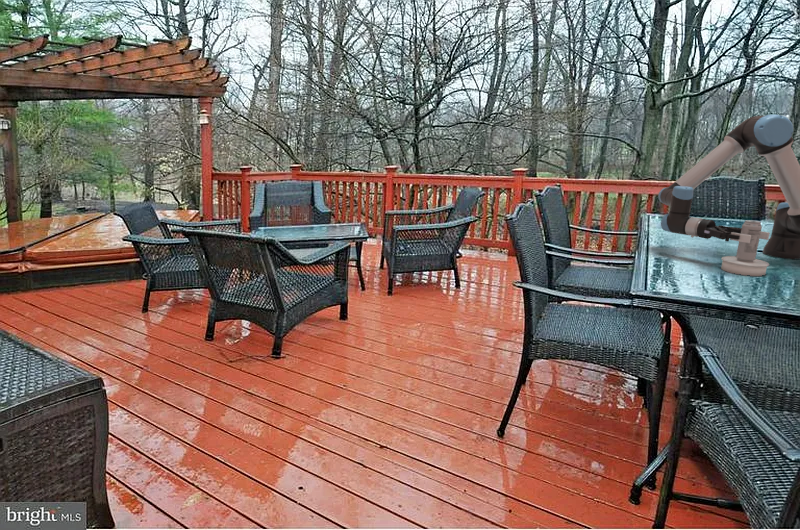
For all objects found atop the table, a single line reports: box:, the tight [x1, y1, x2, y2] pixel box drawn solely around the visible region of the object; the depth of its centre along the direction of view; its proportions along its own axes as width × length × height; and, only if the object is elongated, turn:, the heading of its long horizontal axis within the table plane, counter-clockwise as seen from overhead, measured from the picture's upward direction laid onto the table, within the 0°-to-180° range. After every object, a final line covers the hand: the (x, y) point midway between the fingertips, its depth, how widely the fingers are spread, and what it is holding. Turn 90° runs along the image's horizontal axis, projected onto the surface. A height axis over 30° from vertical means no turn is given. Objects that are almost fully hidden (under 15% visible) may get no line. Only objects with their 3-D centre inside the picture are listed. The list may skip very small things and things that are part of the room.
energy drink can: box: [735, 219, 763, 262], centre depth 188 cm, size 6×6×15 cm
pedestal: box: [720, 255, 770, 277], centre depth 190 cm, size 15×15×4 cm
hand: (759, 237), depth 184 cm, fingers open, 13 cm apart
